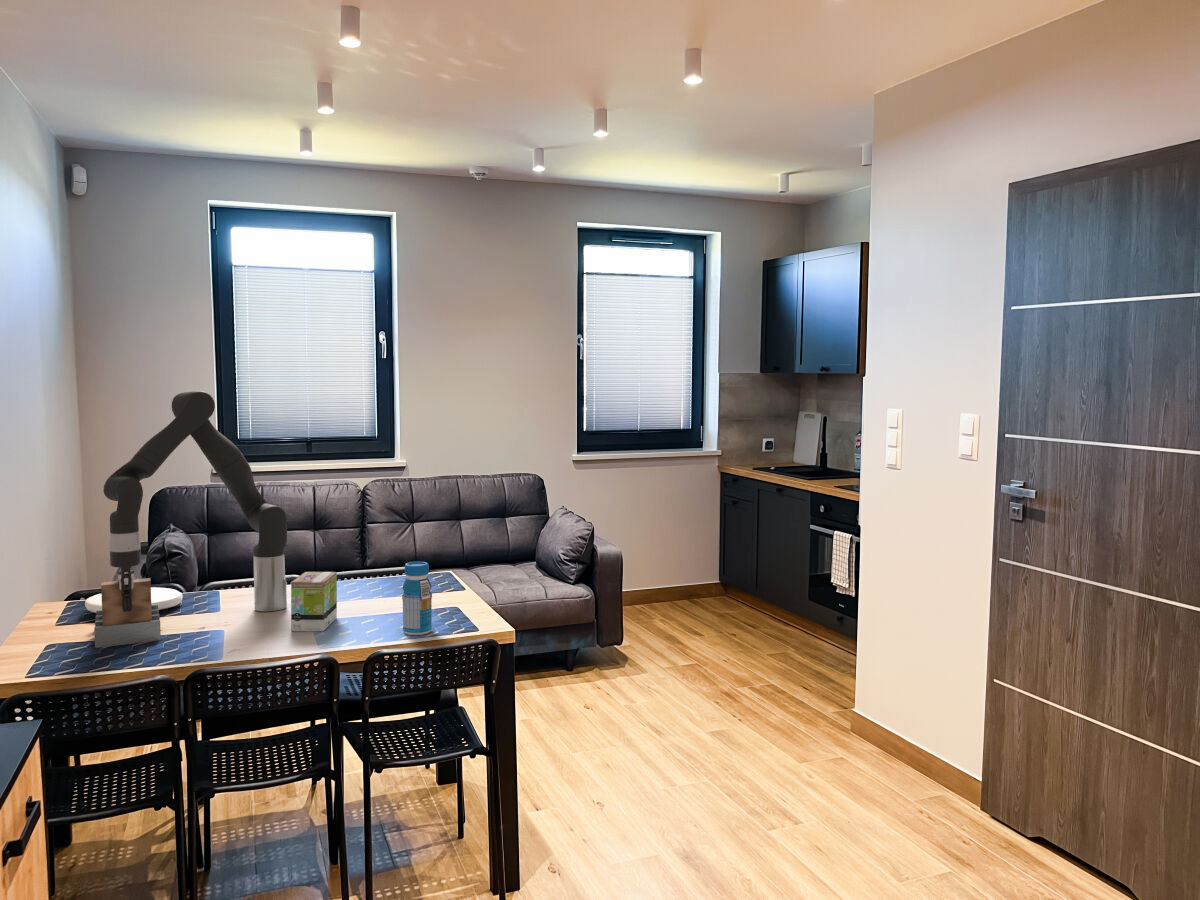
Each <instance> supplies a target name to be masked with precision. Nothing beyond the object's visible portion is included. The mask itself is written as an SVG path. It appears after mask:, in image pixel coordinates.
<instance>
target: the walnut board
mask: <svg viewBox="0 0 1200 900" xmlns="http://www.w3.org/2000/svg"><path fill="white" fill-rule="evenodd" d="M151 584H152V583H151V577H148V578H137V579H135V578H134V579H133V586H134V587H133V589H132V598H131V599H132V610H131V611H128V612H124V611H123V602H122V597H121V595H122V590H120V588H119V580H114V581H113V580H112V581H103V582H101V584H100V588H101V591H100V592H101V593H100V594H102V620H103V626H108V625H117V624H126V623H135V622H145V621H152V608H151V587H152V585H151ZM129 592H130V590H124V593H129Z"/></svg>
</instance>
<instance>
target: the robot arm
mask: <svg viewBox="0 0 1200 900" xmlns="http://www.w3.org/2000/svg"><path fill="white" fill-rule="evenodd" d="M215 403H216V402H215V400H214V398H213V397H212V395H211V394H210V393H208V392H206V391H203V390H191V391H185V392H184V391H183V392H180V393H177V394H176V395H175V396H174V397H173V398H172V399H171V411H172V413H173V416H174V419H173V420H172V421H171V422H170V423H169V424H167V426H165V427H164V428H163V429H161V430H159V432H158V433H156V434H155V435H153V436H151V438H149V440H148V441H146V442H145V443H144V444H143V445H142V446H141V447H140V448H139V449H138V450H137V452H136V453H135V454H134V455H133V457H132V458H130V460H129V461H127V462H126V463H125V464H123V465H122V466H120V467H119V468H118V469H117V470H116V471H115V472H113V473H112V474H111V475H110V476H109V477H108V478H107V480H105V482H104V485H103V494H104V496H105V497H106V498H107V499H108V500H109V501H113V502H117V506H116V510H115V511H113V512H111V513H110V516H109V542H108V543H109V561H110V562H109V564H110V565H109V566H110V567H112V568H120V571H117V579H118V581H119V588H120V590H122V595H121V597H122V602H123V611H124V612H128V611H131V610H132V599H131V598H132V589H133V587H134V586H133V580H135V569H134V570H132V569H131V568H132V567H136V566H139V565H140V564H141V563H142V556H141V555H142V552H141V549H142V548H141V536H140V530H139V528H140V527H139V514H140V510H141V506H142V503H143V499H144V498H143V497H144V490H143V486H142V483H141V482H140V481H142V480H145V479H149V478H150V477H152V476H153V475H154V474H155V473H156V472H157V471H158V470H159V468H160V467H161V466H162V465H163V463H164V462H165V461H166V460H167V459H168V457H169V456H170V455H172V453H173V452H174V451H175V450H176V449H177V448H178V447H179V446H180V445H181V444H182V443H183V442H184V440H186V439H187V438H188V437H189V436H190V437H191V439H193V440H194V442H195V443H196V444H197V446H198V447H199V449H200V450H201V452H202V454H203V455H204V456H205V458H206V459H207V460H208V462H209V464H210V465H211V467H212V468H213V469H214V471H215V473H216V475H217V476H218V478H220V480H221V481H222V483H223V484H224V485H225V487H226V488H227V490H228V492H229V493H230V494H231V495H232V496H233V498H234V499H235V501H236V502H237V504H238V505H239V507H240V509H241V511H242V513H243V515H244V517H245V520H246V521H247V523H248V524H249V526H250V528H252V529H253V530H254V531H256V532H258V541H257V542H258V543H257V544H256V545H255V546H254V547H253V551H252V552H253V553H252V554H253V558H252V559H253V587H254V588H253V591H254V593H253V594H254V610H255V611H257V612H276V611H279V610H284V609H287V608H288V602H287V599H288V598H287V597H288V595H287V578H286V568H285V565H286V563H285V559H286V558H285V549H286V546H287V542H288V517H287V514H286V511H285V510H284V509H283V507H281V506H278V505H275V504H270V503H269V502H267V501H266V499H265V498H264V497H263V496H262V494H261V493H260V491H259V489H258V488H257V486H256V484H255V480H254V475H253V471H252V468H251V466H250V464H249V462H248V461H247V459H246V457H245V456H244V454H243V452H241V450H240V449H239V448H238V447H237V445H235V443H233V441H231V440H230V439H228V438H227V437H226V436H225V435H224V434H222V433H221V432H220V431H219V430H218V429H217V428H216V427H215V426H214V424H212V422H211V421H210V418H211V417H212V415H214V412H215V409H216V404H215ZM124 590H130V592H129V593H124Z"/></svg>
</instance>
